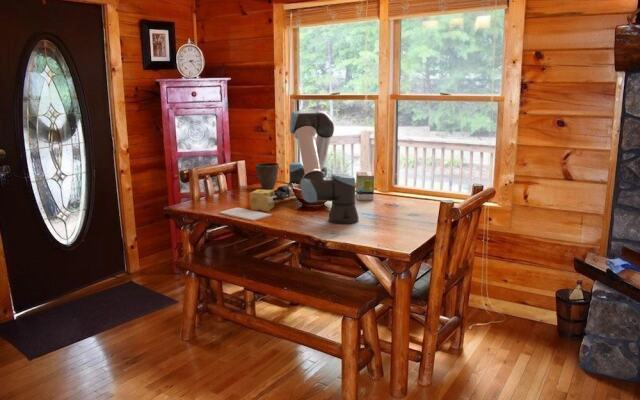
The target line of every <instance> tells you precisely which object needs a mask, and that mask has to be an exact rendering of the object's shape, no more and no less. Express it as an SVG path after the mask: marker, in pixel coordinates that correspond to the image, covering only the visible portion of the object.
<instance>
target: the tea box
mask: <svg viewBox="0 0 640 400" xmlns="http://www.w3.org/2000/svg"><path fill="white" fill-rule="evenodd" d="M355 173H356V174H355V175H356V176H355V185H356V187H355V197H356V200H358V201H373V200H374V198H375V174H374V173H373V171H356V172H355Z"/></svg>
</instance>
